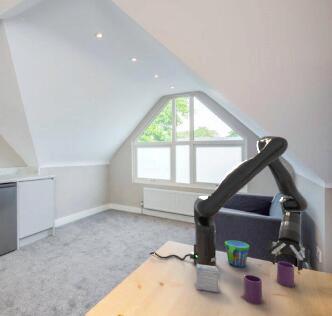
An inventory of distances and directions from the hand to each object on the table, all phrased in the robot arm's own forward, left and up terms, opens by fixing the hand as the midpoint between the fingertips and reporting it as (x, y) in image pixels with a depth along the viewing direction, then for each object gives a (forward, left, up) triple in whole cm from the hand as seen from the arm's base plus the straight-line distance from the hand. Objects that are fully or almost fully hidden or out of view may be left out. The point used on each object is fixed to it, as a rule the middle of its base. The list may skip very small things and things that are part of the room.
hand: (286, 266), depth 104 cm
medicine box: (-22, -28, -7) cm, 36 cm away
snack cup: (-20, +5, -7) cm, 22 cm away
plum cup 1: (-7, -24, -7) cm, 26 cm away
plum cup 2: (0, -1, -7) cm, 7 cm away
